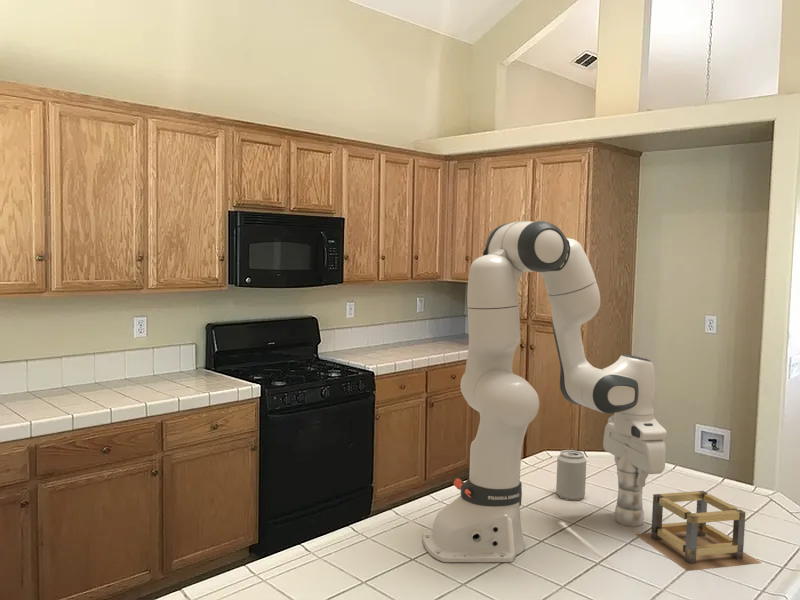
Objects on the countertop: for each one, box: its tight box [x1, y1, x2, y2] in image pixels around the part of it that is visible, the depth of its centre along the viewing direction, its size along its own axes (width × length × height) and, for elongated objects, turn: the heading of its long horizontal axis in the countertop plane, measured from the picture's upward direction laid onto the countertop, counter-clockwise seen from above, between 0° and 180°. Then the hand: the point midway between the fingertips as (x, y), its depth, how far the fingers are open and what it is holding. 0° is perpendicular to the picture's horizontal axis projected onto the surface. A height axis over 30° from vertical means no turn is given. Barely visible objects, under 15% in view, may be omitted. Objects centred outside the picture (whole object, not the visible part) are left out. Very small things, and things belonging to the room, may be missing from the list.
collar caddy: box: [650, 490, 746, 564], centre depth 145 cm, size 13×13×10 cm
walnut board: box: [634, 532, 762, 572], centre depth 145 cm, size 18×18×1 cm
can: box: [555, 449, 587, 501], centre depth 178 cm, size 8×8×12 cm
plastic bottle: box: [614, 443, 645, 528], centre depth 159 cm, size 6×7×20 cm
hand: (630, 480), depth 159 cm, fingers closed on plastic bottle, 6 cm apart
